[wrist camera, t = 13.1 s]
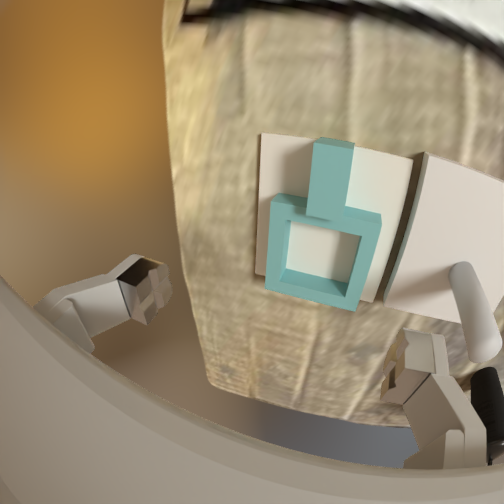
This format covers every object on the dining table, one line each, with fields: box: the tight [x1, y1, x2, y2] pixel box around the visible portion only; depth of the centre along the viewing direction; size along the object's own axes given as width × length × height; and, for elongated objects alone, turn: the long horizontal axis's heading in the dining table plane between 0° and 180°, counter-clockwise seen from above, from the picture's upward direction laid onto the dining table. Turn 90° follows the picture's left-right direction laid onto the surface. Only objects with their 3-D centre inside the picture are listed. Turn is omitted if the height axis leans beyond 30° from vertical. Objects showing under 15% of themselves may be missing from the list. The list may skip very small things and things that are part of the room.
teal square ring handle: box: [265, 137, 382, 312], centre depth 24 cm, size 16×10×4 cm, turn 177°
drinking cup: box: [471, 367, 504, 466], centre depth 19 cm, size 8×8×20 cm
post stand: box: [383, 152, 504, 363], centre depth 17 cm, size 16×14×12 cm
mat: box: [255, 132, 413, 303], centre depth 26 cm, size 16×14×1 cm
